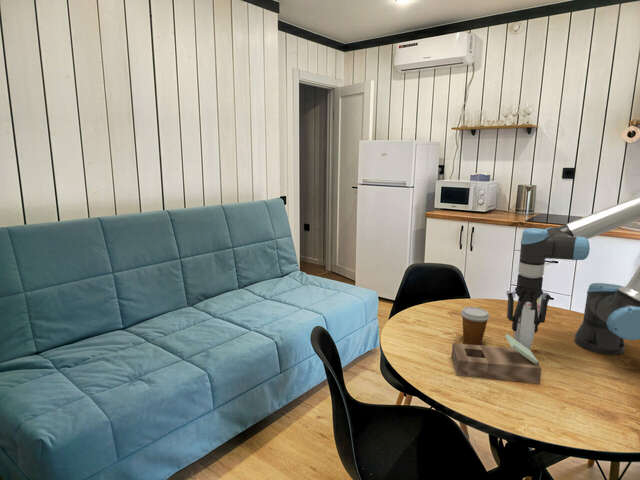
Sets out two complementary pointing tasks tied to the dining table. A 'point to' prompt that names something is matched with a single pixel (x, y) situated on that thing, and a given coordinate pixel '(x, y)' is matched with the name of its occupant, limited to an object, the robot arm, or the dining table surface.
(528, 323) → the steel pin
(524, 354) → the plate
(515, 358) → the walnut block
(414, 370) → the dining table surface
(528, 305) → the tea bag
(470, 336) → the disposable coffee cup
